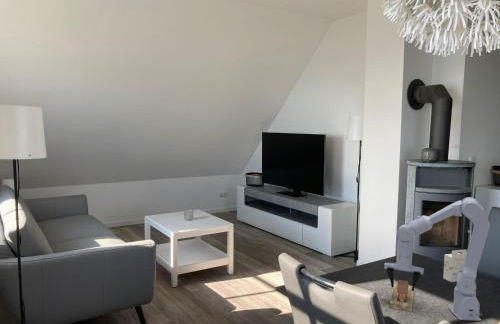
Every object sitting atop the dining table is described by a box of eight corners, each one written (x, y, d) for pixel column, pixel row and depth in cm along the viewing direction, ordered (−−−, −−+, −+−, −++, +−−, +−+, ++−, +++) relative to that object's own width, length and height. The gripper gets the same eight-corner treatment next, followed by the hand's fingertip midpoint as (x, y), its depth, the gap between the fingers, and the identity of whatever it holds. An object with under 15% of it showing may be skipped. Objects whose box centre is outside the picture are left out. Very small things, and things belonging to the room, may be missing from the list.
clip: (407, 300, 166) (408, 280, 165) (406, 307, 160) (408, 286, 159) (397, 298, 168) (398, 278, 167) (396, 305, 162) (397, 284, 161)
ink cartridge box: (457, 276, 194) (459, 246, 192) (465, 280, 189) (467, 249, 187) (442, 278, 191) (444, 247, 190) (450, 282, 186) (452, 250, 185)
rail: (414, 290, 176) (414, 286, 176) (411, 311, 156) (411, 306, 156) (394, 287, 179) (394, 283, 179) (389, 307, 159) (389, 302, 159)
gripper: (424, 255, 163) (422, 288, 164) (386, 249, 169) (384, 281, 170) (424, 260, 156) (422, 294, 158) (384, 254, 162) (382, 287, 163)
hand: (402, 288), depth 163 cm, fingers open, 7 cm apart
